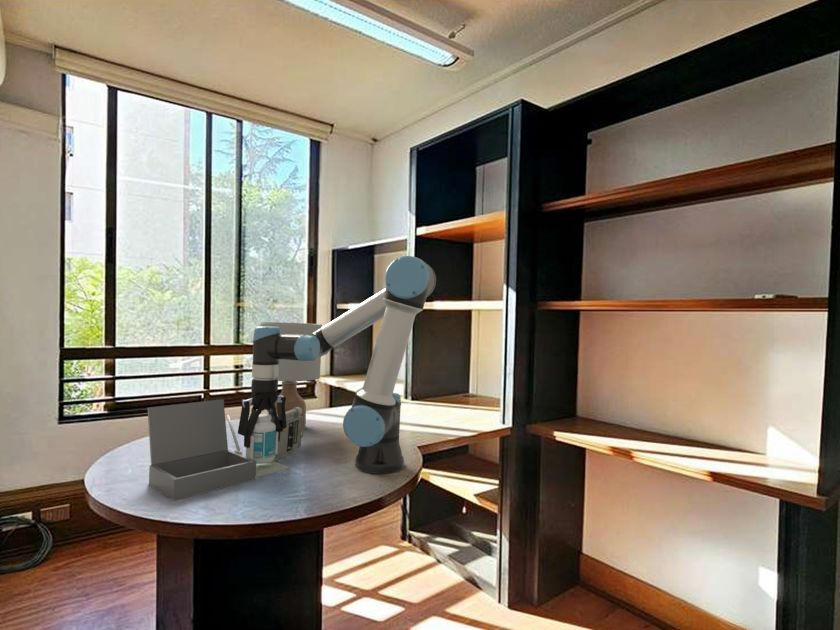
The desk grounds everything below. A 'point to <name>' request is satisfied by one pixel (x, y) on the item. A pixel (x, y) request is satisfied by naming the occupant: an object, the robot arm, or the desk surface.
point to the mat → (269, 468)
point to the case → (194, 450)
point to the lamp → (295, 367)
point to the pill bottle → (264, 439)
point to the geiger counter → (290, 433)
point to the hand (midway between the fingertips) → (261, 455)
